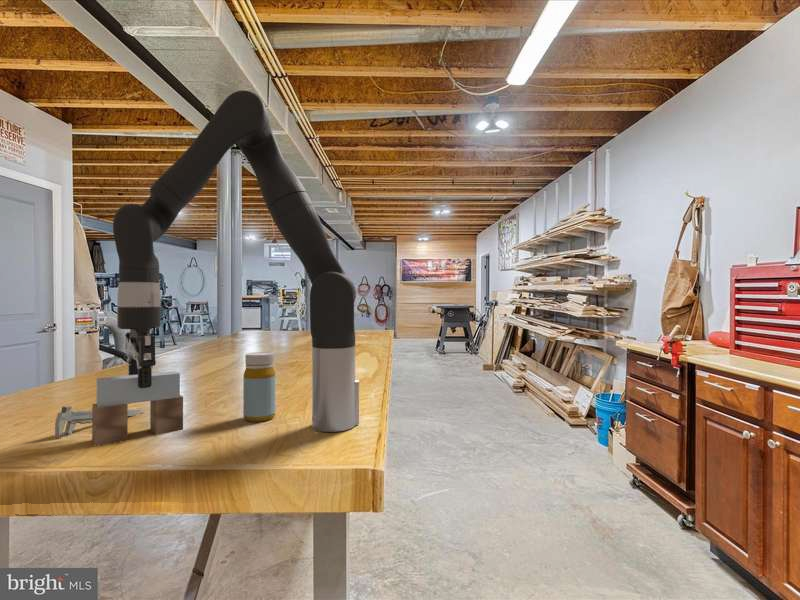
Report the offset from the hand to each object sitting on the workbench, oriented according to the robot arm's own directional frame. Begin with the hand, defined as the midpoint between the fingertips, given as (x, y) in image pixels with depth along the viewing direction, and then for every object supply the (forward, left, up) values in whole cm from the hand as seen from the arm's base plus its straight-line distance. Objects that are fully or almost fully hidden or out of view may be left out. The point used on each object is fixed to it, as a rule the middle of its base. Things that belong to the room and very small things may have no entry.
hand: (139, 384), depth 85 cm
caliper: (+4, -14, -11) cm, 18 cm away
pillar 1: (+5, 0, -10) cm, 11 cm away
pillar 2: (-5, 0, -10) cm, 11 cm away
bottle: (-23, +5, -10) cm, 26 cm away
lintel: (0, 0, -3) cm, 3 cm away
